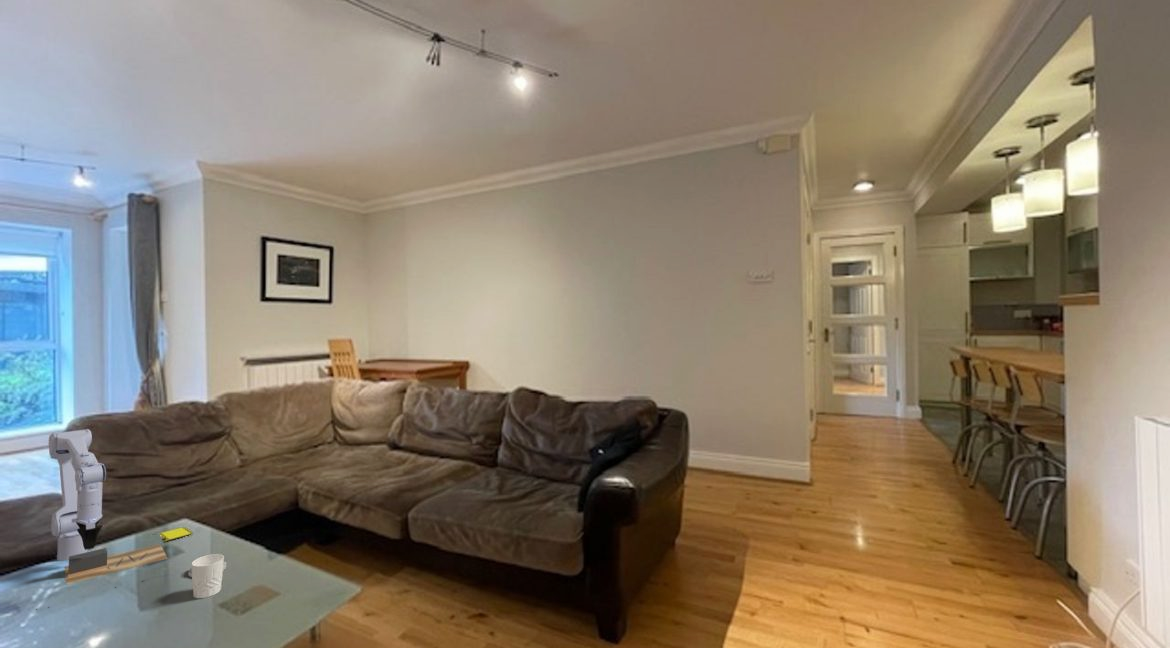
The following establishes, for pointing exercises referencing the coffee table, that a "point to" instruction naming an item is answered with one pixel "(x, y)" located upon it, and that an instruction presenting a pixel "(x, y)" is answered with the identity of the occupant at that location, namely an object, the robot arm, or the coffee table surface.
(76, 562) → the block
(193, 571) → the white cup
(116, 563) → the oak board
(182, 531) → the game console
